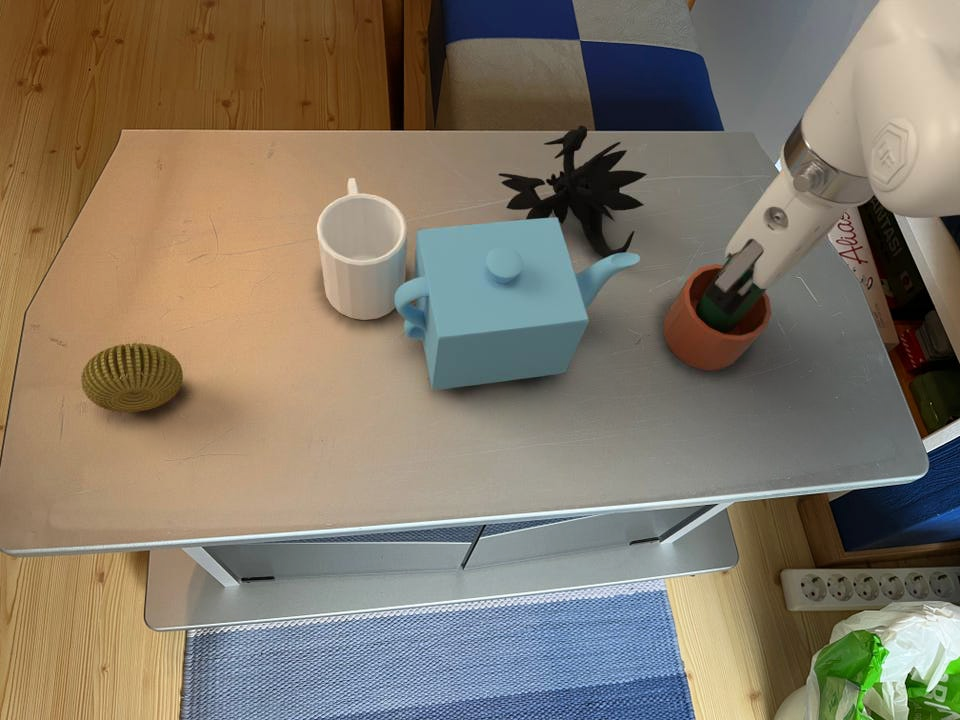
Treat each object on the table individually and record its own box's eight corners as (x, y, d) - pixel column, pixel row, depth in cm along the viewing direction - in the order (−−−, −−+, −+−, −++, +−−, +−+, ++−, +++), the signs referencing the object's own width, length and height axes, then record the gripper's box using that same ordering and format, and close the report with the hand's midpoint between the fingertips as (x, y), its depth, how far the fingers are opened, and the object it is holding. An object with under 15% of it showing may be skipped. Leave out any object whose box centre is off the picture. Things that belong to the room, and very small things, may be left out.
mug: (391, 220, 80) (391, 156, 72) (411, 314, 75) (414, 258, 66) (315, 229, 79) (306, 164, 70) (330, 325, 74) (323, 268, 65)
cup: (758, 339, 78) (787, 307, 73) (708, 385, 75) (735, 355, 69) (697, 285, 81) (721, 250, 75) (646, 328, 78) (667, 294, 72)
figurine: (535, 270, 87) (488, 261, 77) (530, 162, 87) (482, 140, 77) (671, 255, 79) (637, 244, 69) (665, 136, 79) (631, 108, 69)
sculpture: (189, 369, 70) (167, 326, 63) (194, 407, 68) (172, 367, 61) (98, 387, 68) (64, 346, 61) (101, 427, 66) (67, 389, 59)
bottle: (746, 317, 75) (794, 260, 66) (719, 341, 73) (765, 286, 64) (713, 288, 76) (756, 228, 67) (686, 311, 75) (726, 253, 66)
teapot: (402, 402, 71) (405, 330, 58) (385, 303, 75) (385, 217, 63) (619, 372, 75) (664, 299, 63) (590, 280, 80) (627, 196, 67)
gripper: (814, 245, 50) (710, 367, 66) (938, 135, 57) (816, 270, 73) (729, 176, 52) (649, 310, 69) (858, 78, 59) (757, 221, 75)
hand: (736, 288), depth 71 cm, fingers closed on bottle, 4 cm apart
